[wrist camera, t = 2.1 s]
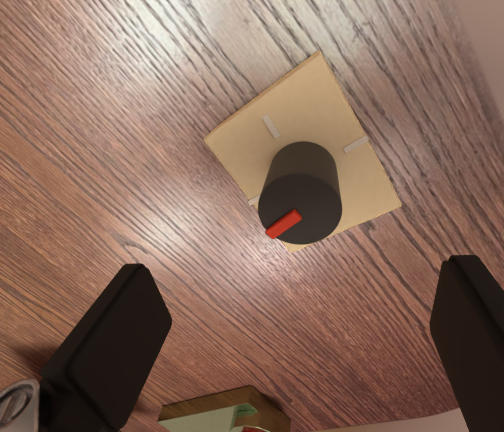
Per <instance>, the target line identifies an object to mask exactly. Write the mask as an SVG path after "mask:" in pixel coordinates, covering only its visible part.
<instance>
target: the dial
mask: <svg viewBox="0 0 504 432" xmlns="http://www.w3.org/2000/svg"><path fill="white" fill-rule="evenodd" d="M258 214H259V218H260V220H261V222H262V224H263V226H264V227H265V229H266V232H265V233H266V234H267V235H268V236H269V237H271V238H272V239H274V238H277V239H279V240H281V241H284V242H286V243H290V244H296V245H305V244H312V243H315V242H318V241H321V240H323V239H324V238H326V237H328V236H329V235H330V234H331V233H332V232H333V231H334V230H335V229H336V228H337V226H338V224H339V222H340V220H341V216H342V201H341V194H340V187H339V181H338V174H337V167H336V163H335V161H334V158H333V157H332V155H331V154H330V153H329V152H328V151H327V150H326V149H325V148H324V147H322V146H320V145H318V144H316V143H312V142H306V141H302V142H295V143H291V144H289V145H287V146H285V147H283V148H282V149H281V150H280V151H279V152H278V153H277V154H276V155H275V156H274V158H273V160H272V162H271V165H270V168H269V171H268V174H267V177H266V180H265V183H264V186H263V189H262V192H261V195H260V198H259V202H258Z"/></svg>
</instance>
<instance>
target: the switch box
mask: <svg viewBox="0 0 504 432" xmlns="http://www.w3.org/2000/svg"><path fill="white" fill-rule="evenodd" d="M157 422H158V423H159V424H160V425H162V426H163V427H165V428H166V429H168V430H169V431H171V432H243V431H254V432H290V424H291V420H290V419H289V418H288V417H287V416H286V415H285V414H284V413H282V412H281V411H280V410H279V409H278V408H277V407H275V406H274V405H273V404H272V403H271V402H270V401H269V400H267V399H266V398H265V397H264V396H263V395H262V394H260V393H259V392H258V391H257V390H256V389H255V388H254V387H252V386H247V387H242V388H238V389H234V390H230V391H226V392H222V393H217V394H213V395H209V396H205V397H201V398H196V399H192V400H188V401H184V402H180V403H176V404H171V405H167V406H163V408H162V410H161V412H160V415H159V417H158V420H157Z"/></svg>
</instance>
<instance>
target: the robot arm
mask: <svg viewBox="0 0 504 432" xmlns="http://www.w3.org/2000/svg"><path fill="white" fill-rule="evenodd" d="M171 325H172V318H171V315H170V313H169V311H168V309H167V307H166V305H165V303H164V300H163V298H162V296H161V294H160V292H159V290H158V288H157V285H156V283H155V281H154V279H153V277H152V275H151V273H150V271H149V269H148V268H146V267H145V266H144V265H143V264H140V263H139V264H125V265H124V266H123V267H122V268H121V269H120V270H119V272H118V273H117V274H116V275H115V277H114V278H113V279H112V281H111V282H110V283H109V284H108V286H107V287H106V288H105V289H104V291H103V292H102V293H101V295H100V296H99V297H98V298H97V300H96V301H95V302H94V303H93V305H92V306H91V307H90V309H89V310H88V311H87V312H86V314H85V315H84V316H83V317H82V319H81V320H80V321H79V323H78V324H77V325H76V326H75V328H74V329H73V330H72V331H71V333H70V334H69V335H68V336H67V338H66V339H65V340H64V342H63V343H62V344H61V345H60V347H59V348H58V349H57V350H56V352H55V353H54V354H53V356H52V357H51V358H50V359H49V361H48V362H47V363H46V364H45V366H44V367H43V368H42V370H41V371H40V372H39V374H40V375H41V376H42V377H43V378H42V379H41V381H40V382H39V383H38V381H37V380H36V379H32V378H26V379H21V380H19V381H16V382H14V383H12V384H10V385H9V386H7V387H6V388H4V389H3V390H2V391H0V432H119V430H120V429H121V428H122V427H124V425H125V424H126V422H127V420H128V418H129V416H130V414H131V412H132V410H133V407H134V405H135V403H136V401H137V399H138V397H139V395H140V392H141V390H142V388H143V386H144V384H145V382H146V380H147V377H148V375H149V373H150V371H151V369H152V367H153V365H154V362H155V360H156V358H157V356H158V354H159V352H160V350H161V347H162V345H163V343H164V341H165V339H166V337H167V334H168V332H169V330H170V328H171ZM430 332H431V335H432V338H433V341H434V343H435V346H436V348H437V351H438V353H439V356H440V358H441V361H442V363H443V366H444V368H445V371H446V374H447V376H448V379H449V381H450V384H451V386H452V389H453V391H454V394H455V396H456V399H457V401H458V404H459V407H460V409H461V412H462V414H463V417H464V419H465V422H466V424H467V427H468V429H469V432H504V291H503V290H502V288H501V287H500V285H499V284H498V283H497V281H496V280H495V279H494V277H493V276H492V275H491V273H490V272H489V270H488V269H487V268H486V266H485V265H484V264H483V262H482V261H481V260H480V258H479V257H478V256H476V255H452V256H450V258H449V260H448V261H443V262H442V265H441V270H440V275H439V280H438V285H437V290H436V295H435V299H434V304H433V309H432V314H431V319H430Z"/></svg>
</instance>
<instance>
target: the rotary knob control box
mask: <svg viewBox="0 0 504 432" xmlns="http://www.w3.org/2000/svg"><path fill="white" fill-rule="evenodd" d="M302 141H306V142H312V143H316V144H318V145H320V146H322V147H324V148H325V149H326V150H327V151H328V152H329V153H330V154H331V155H332V157H333V158H334V161H335V163H336V167H337V174H338V181H339V187H340V194H341V201H342V216H341V220H340V222H339V224H338V226H337V228H336V229H335V230H334V231H333V232H332V233H331V234H330V235H329V236H328V237H330V236H333V235H335V234H337V233H340V232H342V231H344V230H347V229H349V228H352V227H354V226H356V225H359V224H361V223H363V222H366V221H368V220H370V219H373V218H375V217H377V216H380V215H382V214H385V213H387V212H389V211H392V210H394V209H396V208H399V207H401V206H402V203H401V201H400V199H399V197H398V195H397V193H396V191H395V189H394V187H393V185H392V183H391V181H390V179H389V177H388V176H387V174H386V172H385V170H384V168H383V166H382V164H381V162H380V161H379V159H378V157H377V155H376V153H375V151H374V149H373V147H372V146H371V144H370V142H369V141H370V140H369V138H368V136H367V134H365V133H364V131H363V129H362V127H361V125H360V123H359V121H358V119H357V118H356V116H355V114H354V112H353V110H352V108H351V106H350V104H349V103H348V101H347V99H346V97H345V95H344V93H343V91H342V90H341V88H340V86H339V84H338V82H337V80H336V78H335V76H334V75H333V73H332V71H331V69H330V67H329V65H328V63H327V61H326V60H325V58H324V56H323V54H322V52H321V51H320V50H318V51H317V52H316V53H314V54H313V55H312V56H310V57H309V58H307V59H306V60H305V61H303V62H302V63H301V64H299V65H298V66H297V67H295V68H294V69H293V70H291V71H290V72H289V73H287V74H286V75H285V76H283V77H282V78H281V79H279V80H278V81H277V82H275V83H274V84H273V85H271V86H270V87H269V88H267V89H266V90H265V91H263V92H262V93H261V94H259V95H258V96H257V97H255V98H254V99H253V100H251V101H250V102H249V103H247V104H246V105H245V106H243V107H242V108H241V109H239V110H238V111H236V112H235V113H234V114H232V115H231V116H230V117H228V118H227V119H226V120H224V121H223V122H222V123H220V124H219V125H218V126H217V127H216V128H215V129H213V130H212V131H211V132H210V133H209V134H208V135H207V136H206V137H205V138H204V142H205V143H206V144H207V145H208V147H209V148H210V149H211V151H212V152H213V153H214V155H215V156H216V157H217V158H218V160H219V161H220V162H221V164H222V165H223V166H224V168H225V169H226V170H227V171H228V173H229V174H230V175H231V177H232V178H233V179H234V181H235V182H236V183H237V184H238V186H239V187H240V188H241V190H242V191H243V192H244V194H245V195H246V196H247V197H248V199H249V200H248V201H247V202H248V203H249V205H250V206H251V205H254V207H255V208H256V209H257V210H258V202H259V198H260V195H261V192H262V189H263V186H264V183H265V180H266V177H267V174H268V171H269V168H270V165H271V162H272V160H273V158H274V156H275V155H276V154H277V153H278V152H279V151H280V150H281V149H282V148H283V147H285V146H287V145H289V144H291V143H295V142H302ZM328 237H326V238H328ZM326 238H324V239H326ZM281 242H282V243H283V244H284V245H285V247H286V248H287V249H288V251H289V252H290V253H293V252H295V251H297V250H300V249H302V248H304V247H307V246H309V245H311V244H305V245H296V244H290V243H286V242H284V241H281ZM318 242H319V241H318ZM315 243H316V242H315ZM312 244H314V243H312Z"/></svg>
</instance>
